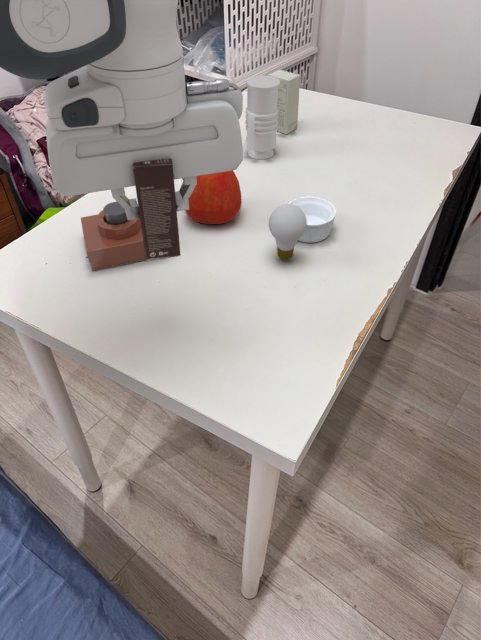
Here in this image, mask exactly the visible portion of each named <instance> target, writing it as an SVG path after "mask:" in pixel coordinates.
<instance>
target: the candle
mask: <svg viewBox="0 0 481 640" xmlns="http://www.w3.org/2000/svg"><path fill="white" fill-rule="evenodd" d="M245 85H246V86H247V87H246V88H247V90H246V93H247V94H246V95H247V96H246V108H245V131H246V136H245V138H246V139H245V146H246V147H247V148H248V150H247V155H248V156H249V157H250V158H252V159H254V160H268V159H270V158H272V157H273V156H274V155H275V151H274V149H275V148H276V146H277V132H278V131H277V130H278V126H277V125H278V112H279V110H278V108H277V101H278V86H279V85H280V81H279V79H277V78H275V77H273V76H268V74H265V75H264V74H260V75H252V76H249V77H248V78H247V79H246V80H245Z"/></svg>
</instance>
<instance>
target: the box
mask: <svg viewBox="0 0 481 640" xmlns="http://www.w3.org/2000/svg"><path fill="white" fill-rule="evenodd" d="M133 172H134V179H135V186H134V187H135V192H136V193H135V194H136V201H137V204H138V207H139V214H140V222H141V229H142V237H143V244H144V251H145V257H146V260H145V261H155V260H165V259H170V258H175V257H176V258H177V257H180V256H181V245H180V234H179V233H180V231H179V222H178V214H177V213H178V212H177V209H176V197H175V192H176V188H175V180H174V174H173V163H172V159H159V160H150V161H142V162H135V163H133Z"/></svg>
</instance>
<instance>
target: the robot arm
mask: <svg viewBox="0 0 481 640" xmlns="http://www.w3.org/2000/svg"><path fill="white" fill-rule="evenodd" d="M178 5H179V0H0V68H1V69H2V70H4V71H5V72H8V73H9V74H11V75H14V76H17V77H20V78H24V79H28V80H38V81H39V80H41V81H42V80H50V79H54V78H56V79H54V80H52V81H50V82H49V83H47V85H46V87H45V89H44V95H43V96H44V97H43V101H44V102H43V104H44V108H45V112H46V115H47V120H46V126H45V127H46V128H45V133H46V134H45V135H46V148H47V156H48V165H49V168H50V175H51V179H52V183H53V187H54V189H55V190H56V191H57V192H58V193H60V194H61V195H63V196H64V197H74V196H79V195H86V194H93V193H98V192H99V193H100V192H105V191H110V192H111V196H112V198H113V200H115V202H118V203H119V204H120V205H121V206H122V207H123V208H124V209H125V212H126V216H127V220H133V219H138V218H140V214H139V208H138V200H137V197H136V198H135V197H134V198H128V197H127V195H126V191H125V190H126V189H125V188H129V187H130V188H131V187H136V186H135V179H134V172H133V163H135V162H142V161H150V160H159V159H172V163H173V174H174V181H175V180H182V183H181V185H180V188H179V190H177V191H175V197H176V209H177V213H178V212H185V210H189V201H188V198H189V197H190V195H191V194H192V192H193V190H194V188H195V186H196V184H197V179H196V176H200V175H206V174H213V173H219V172H225V171H232V170H233V171H235V170H237V169H238V168H239V167H240V165H242V163H243V161H244V153H243V152H244V146H243V139H242V138H243V137H242V131H241V126H240V125H241V124H240V120H241V117H242V114H243V107H244V105H243V103H244V98H243V97H244V96H243V91H242V90H241V88H240V87H239V86H238V85H237V84H236V83H234V82H231V81H230V80H229V79H228V78H216V79H214V80H206V81H205V80H197V81H196V80H195V81H188V82H186V75H185V60H184V59H185V58H184V49H183V44H182V40H181V38H180V35H179V31H178V25H177V10H178Z"/></svg>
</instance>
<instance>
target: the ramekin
mask: <svg viewBox="0 0 481 640" xmlns="http://www.w3.org/2000/svg"><path fill="white" fill-rule="evenodd" d="M287 204H293V205H296V206H298V207H299V208H300V209H301V210H302V211H303V212H304V214H305V216H306V220H307V225H306V230H305V232H304V234H303V235H302V236H301V237H300V238H299V239H298V241H299V242H301V243H309V244H312V243H318V242H321V241H323V240H326V239H327V238H328V237H329V236H330V235H331V233H332V228H333V225H334V221H335V219H336V217H337V207H335V204H333V203H332V202H331V201H329V200H328V199H325V198H323V197H318V196H311V195H310V196H309V195H306V196H300V197H295V198H293V199H291V200H290V201H288V202H287ZM298 241H297V242H298Z"/></svg>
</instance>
